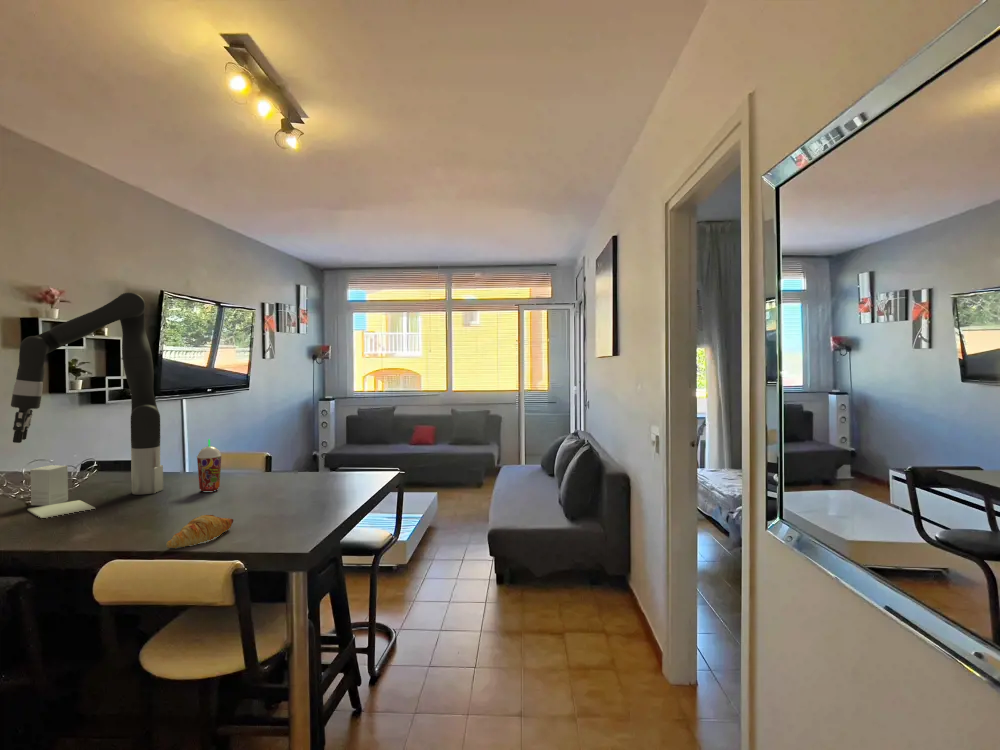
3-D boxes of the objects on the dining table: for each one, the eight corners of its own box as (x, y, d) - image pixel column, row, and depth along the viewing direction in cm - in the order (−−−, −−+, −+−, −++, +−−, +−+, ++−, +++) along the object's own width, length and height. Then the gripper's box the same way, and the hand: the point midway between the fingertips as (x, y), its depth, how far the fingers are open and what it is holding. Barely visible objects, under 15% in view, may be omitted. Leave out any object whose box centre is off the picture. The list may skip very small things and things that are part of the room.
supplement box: (68, 500, 190) (68, 465, 190) (49, 506, 183) (48, 469, 183) (50, 500, 191) (50, 464, 191) (29, 505, 184) (29, 468, 183)
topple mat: (27, 510, 178) (27, 508, 178) (79, 501, 189) (79, 500, 189) (41, 519, 168) (41, 517, 168) (95, 509, 180) (95, 507, 180)
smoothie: (214, 493, 201) (214, 440, 201) (192, 493, 201) (192, 440, 201) (226, 488, 210) (225, 437, 209) (205, 488, 210) (204, 437, 209)
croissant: (175, 566, 140) (186, 541, 138) (150, 544, 143) (159, 520, 141) (238, 539, 160) (248, 517, 159) (215, 520, 163) (224, 498, 161)
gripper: (38, 396, 180) (30, 444, 179) (44, 394, 191) (37, 439, 190) (8, 393, 175) (0, 443, 174) (16, 391, 187) (9, 437, 186)
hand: (19, 441), depth 182 cm, fingers open, 8 cm apart
